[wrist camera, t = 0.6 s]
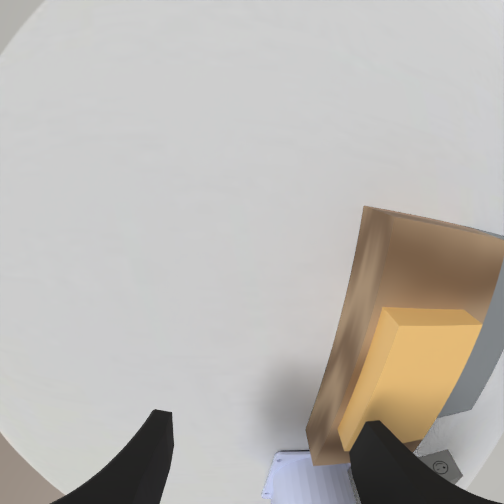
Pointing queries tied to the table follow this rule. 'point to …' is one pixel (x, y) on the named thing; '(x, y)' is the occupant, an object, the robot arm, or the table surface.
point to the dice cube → (443, 465)
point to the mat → (480, 354)
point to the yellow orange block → (409, 371)
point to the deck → (398, 301)
